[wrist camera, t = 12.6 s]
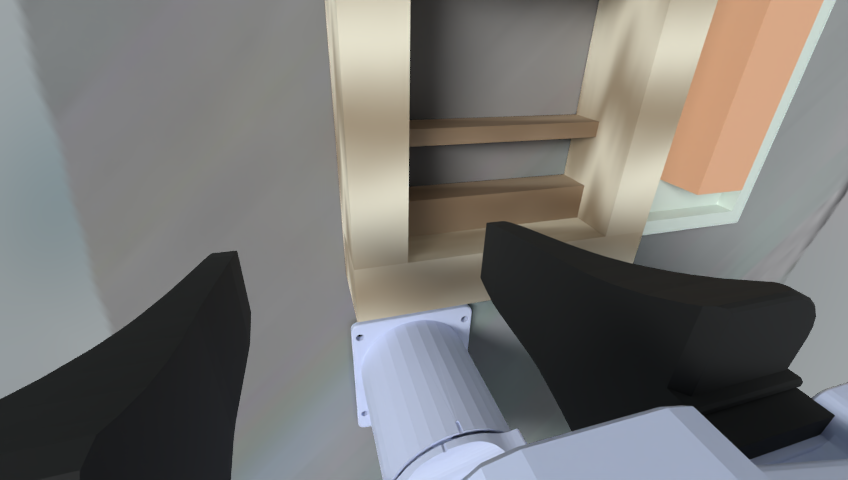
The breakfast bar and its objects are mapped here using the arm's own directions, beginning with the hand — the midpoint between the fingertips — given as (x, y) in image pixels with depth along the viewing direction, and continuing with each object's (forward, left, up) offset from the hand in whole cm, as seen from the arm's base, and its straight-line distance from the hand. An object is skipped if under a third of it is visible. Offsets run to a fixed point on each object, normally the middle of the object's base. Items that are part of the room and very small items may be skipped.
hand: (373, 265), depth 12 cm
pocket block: (+2, -8, -10) cm, 13 cm away
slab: (+3, -22, -9) cm, 24 cm away
